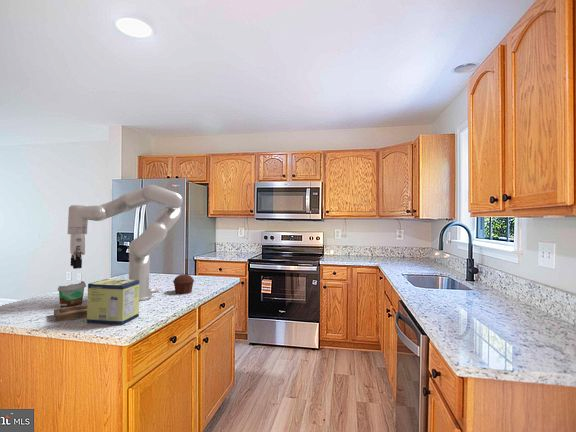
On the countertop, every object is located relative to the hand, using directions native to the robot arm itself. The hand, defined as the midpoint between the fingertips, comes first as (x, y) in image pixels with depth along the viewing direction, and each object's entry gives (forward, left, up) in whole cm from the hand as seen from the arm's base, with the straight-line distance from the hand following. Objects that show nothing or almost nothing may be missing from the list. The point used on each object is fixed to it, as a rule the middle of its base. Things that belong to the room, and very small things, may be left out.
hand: (75, 267), depth 135 cm
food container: (0, 0, -18) cm, 18 cm away
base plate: (0, +18, -18) cm, 25 cm away
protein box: (-9, +34, -18) cm, 40 cm away
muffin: (-49, +8, -18) cm, 53 cm away
